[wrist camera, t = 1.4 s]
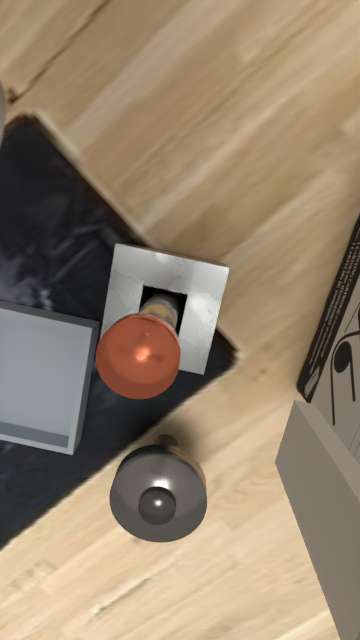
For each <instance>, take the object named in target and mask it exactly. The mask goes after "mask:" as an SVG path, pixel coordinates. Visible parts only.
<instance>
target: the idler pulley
mask: <svg viewBox="0 0 360 640" xmlns="http://www.w3.org/2000/svg"><path fill="white" fill-rule="evenodd" d="M177 447H178V444H177V441H176V439H175V438H174V437H172V436H170V435H162V436H159V437H158V438H157V439H156V441H155V444H154V445H147V446H144V447H141V448H138V449H136V450H134V451H133V452H131V453H130V454H128V455H127V456H126V457H125V458H124V459H123V461H122V462H121V464H120V465H119V467H118V469H117V472H116V475H115V478H114V481H113V484H112V487H111V490H110V507H111V510H112V513H113V515H114V517H115V519H116V520H117V522H118V523H119V524H120V525H121V526H122V527H123V528H124V529H125V530H126V531H127V532H129V533H130V534H132V535H134V536H136V537H138V538H140V539H143V540H146V541H151V542H171V541H175V540H179V539H181V538H183V537H185V536H187V535H189V534H190V533H192V532H193V531H194V530H195V529H196V528H197V527H198V526H199V525H200V523H201V522H202V520H203V518H204V516H205V513H206V508H207V492H206V479H205V475H204V472H203V470H202V468H201V467H200V465H199V463H198V462H197V461H196V460H195V459H194V458H193V457H192V456H191V455H189V454H188V453H187V452H185V451H183V450H181V449H179V448H177Z"/></svg>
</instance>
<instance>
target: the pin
mask: <svg viewBox="0 0 360 640" xmlns="http://www.w3.org/2000/svg"><path fill="white" fill-rule="evenodd" d="M180 306H181V296H180V294H179V292H174V291H169V290H165V289H160V288H158V289H157V290H156V291H155V292H154V293H153V294H152V296H151V297H150V298H149V299H148V301H147V302H146V303H145V304H144V306H143V307H142V308H141V309H140V311H139V312H138V313H133V314H129V315H126V316H124V317H122V318H120V319H119V320H117V321H116V322H115V323H114V324H113V325H112V326H111V327H110V328H109V329H108V330H107V331H106V332H105V333H104V335H103V336H102V337H101V339H100V341H99V343H98V346H97V350H96V365H97V369H98V372H99V374H100V376H101V378H102V379H103V381H104V382H105V383H106V385H107V386H108V387H109V388H111V389H112V390H113V391H115V392H116V393H118V394H120V395H122V396H124V397H128V398H132V399H147V398H151V397H154V396H157V395H159V394H161V393H162V392H164V391H165V390H166V389H167V388H168V387H169V386H170V385H171V384H172V383H173V381H174V380H175V378H176V375H177V373H178V369H179V363H180V355H181V347H180V342H179V338H178V336H177V334H176V332H175V327H176V323H177V319H178V314H179V310H180Z"/></svg>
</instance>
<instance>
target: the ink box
mask: <svg viewBox="0 0 360 640" xmlns="http://www.w3.org/2000/svg"><path fill="white" fill-rule="evenodd" d="M297 389H298V392H300V394H301V395H302V396H303V398H304V399H305V400H306V402H307V403H310V404H314V405H315V406H316V408H317V409H318V410H319V412H320V413H321V414H322V416H323V417H324V418H325V420H326V421H327V423H328V424H329V425H330V427H331V428H332V429H333V431H334V432H335V433H336V435H337V436H338V437H339V439H340V440H341V441H342V443H343V444H344V445H345V447H346V448H347V449H348V451H349V452H350V453H351V455H352V456H353V457H354V459H355V460H356V461H357V463H358V464H359V465H360V217H359V220H358V221H357V224H356V227H355V230H354V233H353V236H352V239H351V241H350V244H349V247H348V249H347V252H346V254H345V257H344V260H343V263H342V265H341V268H340V270H339V273H338V276H337V279H336V281H335V284H334V287H333V289H332V292H331V294H330V296H329V299H328V302H327V305H326V309H325V312H324V315H323V318H322V321H321V323H320V326H319V329H318V332H317V334H316V336H315V339H314V342H313V344H312V347H311V350H310V352H309V355H308V359H307V361H306V364H305V366H304V368H303V371H302V374H301V376H300V380H299V382H298V386H297Z"/></svg>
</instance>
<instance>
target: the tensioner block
mask: <svg viewBox="0 0 360 640" xmlns="http://www.w3.org/2000/svg"><path fill="white" fill-rule="evenodd" d="M228 272H229V267H228V266H226V265H225V264H223V263H218V262H213V261H209V260H204V259H200V258H195V257H190V256H186V255H181V254H177V253H172V252H167V251H163V250H158V249H154V248H149V247H144V246H140V245H135V244H131V243H116V244H115V250H114V256H113V262H112V268H111V275H110V281H109V287H108V293H107V299H106V305H105V311H104V318H103V324H102V330H101V336H100V339H101V337H102V336H103V335H104V333H105V332H106V331H107V330H108V329H109V328H110V327H111V326H112V325H113V324H114V323H115V322H116V321H117V320H119V319H120V318H122V317H124V316H126V315H129V314H133V313H138V312H139V311H140V309H141V308H142V307H143V306H144V304H145V303H146V302H147V299H148V294H149V288H150V286H151V287H156V288H160V289H165V290H169V291H174V292H179V293H183V294H187V299H186V303H185V308H184V312H183V317H182V321H181V323H179V322H177V323H176V327H175V332H176V334H177V336H178V338H179V342H180V347H181V355H180V363H179V369H180V370H185V371H189V372H194V373H199V374H203V375H204V371H205V367H206V363H207V359H208V354H209V350H210V346H211V342H212V338H213V334H214V330H215V326H216V322H217V317H218V313H219V309H220V305H221V301H222V297H223V293H224V289H225V285H226V281H227V276H228Z"/></svg>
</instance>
